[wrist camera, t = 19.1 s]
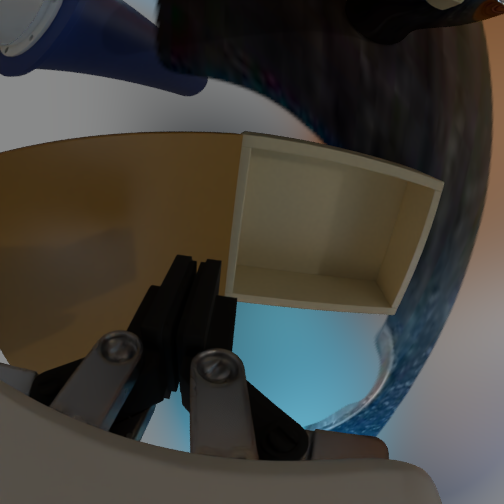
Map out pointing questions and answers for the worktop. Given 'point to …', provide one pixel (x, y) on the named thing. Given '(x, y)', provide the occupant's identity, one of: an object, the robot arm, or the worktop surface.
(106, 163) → the cover
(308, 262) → the open cream tray
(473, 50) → the worktop surface
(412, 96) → the worktop surface
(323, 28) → the worktop surface
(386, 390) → the worktop surface
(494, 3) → the beer glass
